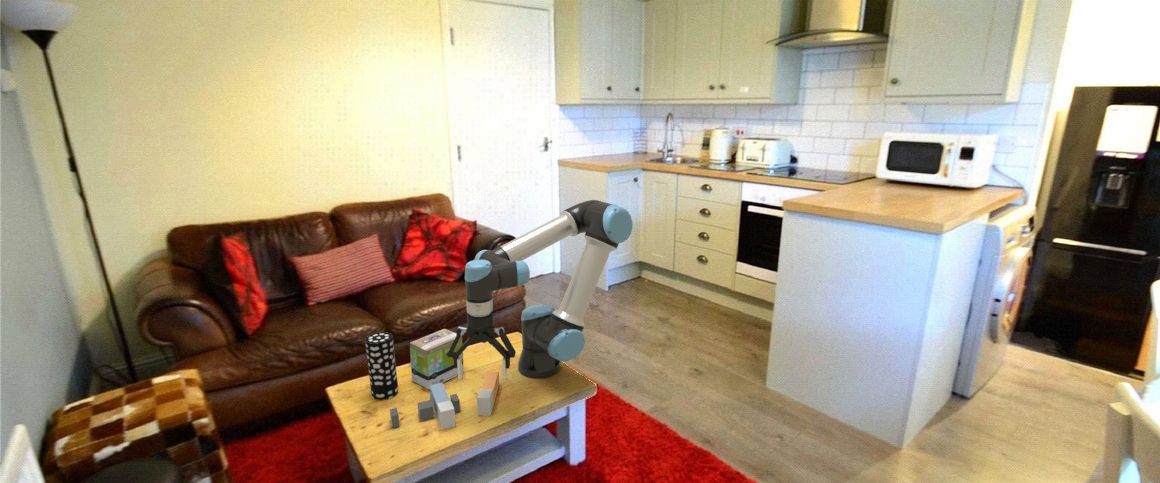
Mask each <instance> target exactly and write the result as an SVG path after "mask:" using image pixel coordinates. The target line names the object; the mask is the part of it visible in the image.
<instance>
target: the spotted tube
mask: <svg viewBox="0 0 1160 483" xmlns="http://www.w3.org/2000/svg"><path fill="white" fill-rule="evenodd" d="M364 345H365V353H366V360H367V362H366V363H367V368H368V370H367V371H368V378H369V384H370V393H371V397H372V399H374V400H375V401H376V400H377V401H385V400H390V399H393V398H394V397H396V396H397V395H398V393H399V385H398V384H399V382H398V374H397V365H396V357H395V346H394V337H393V334H392V333H391V332H388V331H379V332H375V333H371V334H369V335H367V336H366V337H365V338H364Z"/></svg>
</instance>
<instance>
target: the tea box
mask: <svg viewBox="0 0 1160 483" xmlns="http://www.w3.org/2000/svg"><path fill="white" fill-rule="evenodd" d="M456 335H457V332H453V331H451V330H449V329H447V328H443V329H440V330H437V331H435V332H432V333H431V334H427V335H425V336H422V337H420V338H418V339H415V340H413V341H410V342H409V356H410V369H411V370H410V371H411V381H412V382H414V383H416V384H417V385H419V386H421V387H423V388H425V389H426V390H429V391H430V385H434V384H438V383H443V384H444V383H445V382H447V381H449V380H451V379H454V378H456V377H458V368H454V359H453V358H452V357H447V354H448V352H449V350H450V348H451V346H452V344H453V342H454V340H455V338H456ZM462 344H463V335H461V337H460V339H459V341H458V343H457V345H456V347H455V349H454V351H453V352H456V351H457V350H458V349H459V348H460V347H461V346H462ZM460 356H462V374H463V373H465V371H464V368H465V367H464V366H465V365H464V351H463V352H462V353H461V354H460Z"/></svg>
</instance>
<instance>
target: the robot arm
mask: <svg viewBox="0 0 1160 483" xmlns="http://www.w3.org/2000/svg"><path fill="white" fill-rule="evenodd" d="M633 224H634V223H633V219H632V216H631V214H630V212H629V211H628V210H627V209H626V208H625V207H622V206H620V205H617V204H615V203H614V204H613V203H610V202H605V201H601V200H596V199H590V200H585V201H582V202H579V203H576V204H574V205H572V206H570V207H567V208H566V209H564V210H562V211H560V213H559V216H557V217H554V218H553V219H551V220H549V221H547V222H545V223H544V224H543V223H542V224H541V225H539V226H538V227H536V228H533V229H531V230H530V231H528V232H526V233H524V234H522V235H520V236H518V237H516V238H514V239H512V240H510V241H509V242H506V243H504V244H502V245H501V246H499V247H498V246H497V248H495V249H493V250H490V249H483V250H480V251H478V252H477V253H476V255H475V257H474V259H473V260H470V261H468V262H467V263H466V264H465V267H464V282H465V293H466V294H465V296H466V299H465V301H466V302H465V303H466V304H465V305H466V313H467V315H466V321H467V327H463V326H462V325H459V326H458V327H457V329H456V333H457V335H456V338H455V340H454V342H453V344H452V346H451V348H450V350H449V352H448V354H447V357H452V358H453V359H454V368H458V376H457V380H462V377H463V373H462V356H460V354H461V353H462V352H463V353H464V351H465V350H466V349H467V347H469V345H471V344H472V342H474V343H476V344H479V343H483V344H486V343H488V344H490V345H491V346H493V348H494V349H495V350H496V351H497V352H498V353H499V354H500V355H501V356H502V380H503V381H506V379H507V376H508V374H507V373H508V372H507V371H508V370H507V369H510V366H511V358H513V359H514V358H515V357H516V353H517V352H516V349H515V348H514V346H513V344H512V343H511V341H510V339H509V338H508V335H507V334H506V332H505V331H506V330H505V326H503V325H501V326H500V327H495V326H494V312H493V311H494V309H493V308H494V307H493V306H494V304H493V292H495V291H501V290H505V289H511V288H515V287H520V286H523V285H527V283H529V281H530V278H531V276H530V274H531V272H530V271H531V270H530V268H529V265H528V264H527V262H526V261H525V260H526V259H528V258H530V257H532V256H533V255H536V254H537V253H539V252H541V251H544V250H545V249H548V247H551V246H553V245H555V244H557V243H558V242H560V241H561V240H563V239H565V238H568V237H569V236H571V237H576V236H578V235H579V234H584V239H585V242H586V244H585V245H584V248H583V250H582V252H581V255H580V257H579V260H578V262H577V264H576V267H575V269H574V271H573V274H572V277H571V279H570V281H569V284H568V286H567V288H566V290H565V293H564V296H563V298H562V301H561V302H560V305H559V308H557V309H555V307H554V306H552V305H550V304H549V305H548V304H536V305H531V306H528V307H526V308H524V309H523V310H522V311H521V318H520V321H521V341H522V349H521V352H520V356H519V358H518V362H517V366H518V372H519V373H520V374H521V375H523V376H525V377H528V378H532V379H542V378H544V379H545V378H549V377H552V376H554V375H555V374H557V373H558V372H559V371H560V370H561V362H570V361H572V360H573V359H576V358H577V357H578V356H579V355H580V354H581V353H582V351H583V350H584V347H585V344H586V340H585V336H584V334H583V331H584V329H585V326H586V325H585V323H584V317H585V314H586V312H587V310H588V307H589V305H590V301H591V300H592V298H593V295H594V292H595V291H596V288H597V286H598V283H599V281H600V278H601V276H602V273H603V272H604V271H603V270H604V269H605V267H606V264H607V262H608V259H609V257H610V254H611V253H612V252H613V251H614V252H615V251H616V250H618V247H619V245H620V244H622V243H624V242H625V241H627V240H628V239H629V237H630V236H631V234H632V232H633ZM465 333H466V335H468V338H467V339H466V340H465V341H464V342H462V346H461V347H460V348H459V349H458V350H457V351H456V352H453V351H454V349H455V347H456V345H457V343H458V341H459V339H460V337H461V336H463V335H465ZM495 333H496V334H497V336H499V338H500V340H501V342H502V343H503V344H501V342H500V341H499V340H498V339H497V338H496V336H495V335H494V334H495Z"/></svg>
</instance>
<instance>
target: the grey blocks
mask: <svg viewBox="0 0 1160 483" xmlns="http://www.w3.org/2000/svg"><path fill="white" fill-rule="evenodd" d="M449 397H450V398H449V400H451V402H452V405H453V407H454V412H455V414H456V413H460V412H461V403H460V402H461V401H460V398H459V396H458V393H453V394H450V396H449ZM416 406H417V413H418V418H419V422H424V421H428V420H432V419H434V418H435V415H434V414H435V412H434V406H433V404H432V401H431V399H429V400H423V401H420V402H417V405H416ZM389 415H390V421H391V426H392V427H391V428H392V429H395V428H398V427H399V428H400V427H401V426H400V417H399V412H398V408H397V407H394V408H390V409H389Z"/></svg>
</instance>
